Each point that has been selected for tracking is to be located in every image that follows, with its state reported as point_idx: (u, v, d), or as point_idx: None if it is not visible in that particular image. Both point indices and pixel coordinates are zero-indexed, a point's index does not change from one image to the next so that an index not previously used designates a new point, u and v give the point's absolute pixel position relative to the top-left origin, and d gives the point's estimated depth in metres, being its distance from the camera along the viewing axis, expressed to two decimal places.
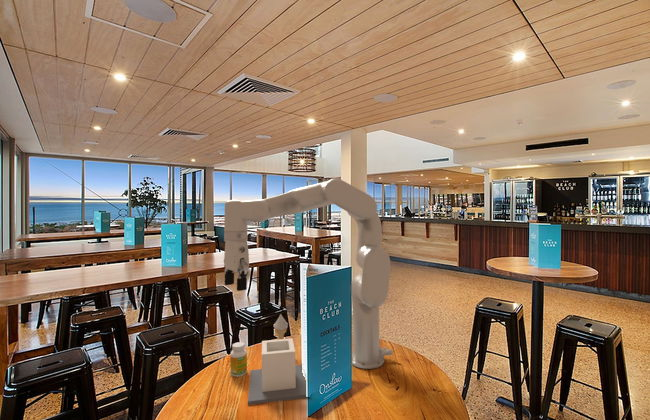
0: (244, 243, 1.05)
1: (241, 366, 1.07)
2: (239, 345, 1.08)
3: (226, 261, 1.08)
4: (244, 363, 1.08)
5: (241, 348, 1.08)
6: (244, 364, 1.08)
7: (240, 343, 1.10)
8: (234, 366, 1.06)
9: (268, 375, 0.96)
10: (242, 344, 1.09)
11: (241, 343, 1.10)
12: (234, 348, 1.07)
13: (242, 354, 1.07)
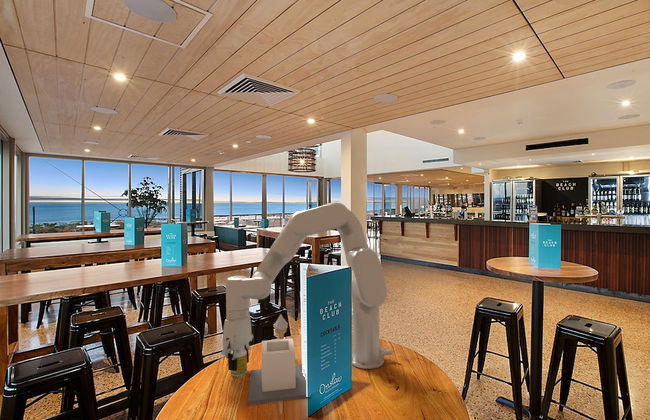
0: None
1: (241, 366, 1.07)
2: None
3: (239, 341, 1.06)
4: (244, 363, 1.08)
5: (241, 348, 1.08)
6: (244, 364, 1.08)
7: None
8: None
9: (268, 375, 0.96)
10: None
11: None
12: None
13: (242, 354, 1.07)
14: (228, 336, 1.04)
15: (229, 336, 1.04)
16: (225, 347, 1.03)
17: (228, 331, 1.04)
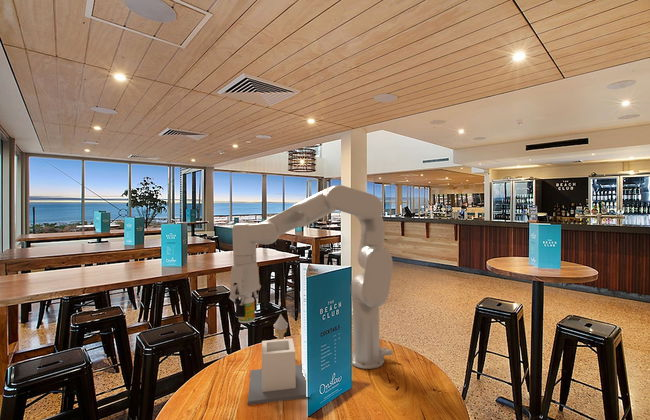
0: None
1: (249, 313, 1.05)
2: None
3: (247, 287, 1.04)
4: (252, 310, 1.06)
5: (249, 295, 1.06)
6: (252, 311, 1.06)
7: None
8: None
9: (268, 375, 0.96)
10: None
11: None
12: None
13: (249, 300, 1.05)
14: (235, 281, 1.03)
15: (236, 281, 1.02)
16: (233, 291, 1.01)
17: (235, 276, 1.03)
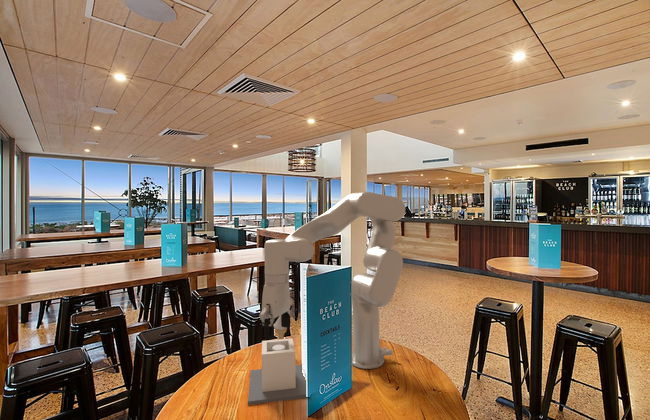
0: None
1: None
2: (280, 348, 1.01)
3: (279, 308, 0.98)
4: None
5: None
6: None
7: (280, 345, 1.03)
8: None
9: (268, 375, 0.96)
10: (282, 347, 1.02)
11: (281, 346, 1.02)
12: None
13: None
14: (268, 302, 0.97)
15: (269, 302, 0.97)
16: (264, 310, 0.95)
17: (268, 296, 0.97)
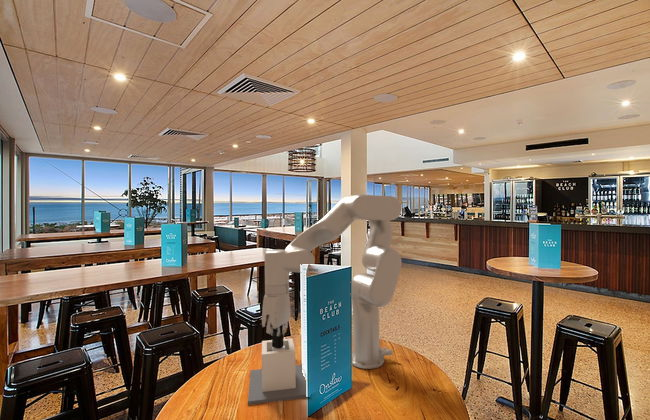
0: None
1: None
2: (280, 348, 1.01)
3: (279, 318, 0.98)
4: None
5: None
6: None
7: None
8: None
9: (268, 375, 0.96)
10: (282, 347, 1.02)
11: None
12: None
13: None
14: (268, 313, 0.97)
15: (269, 313, 0.97)
16: (268, 326, 0.97)
17: (268, 307, 0.97)
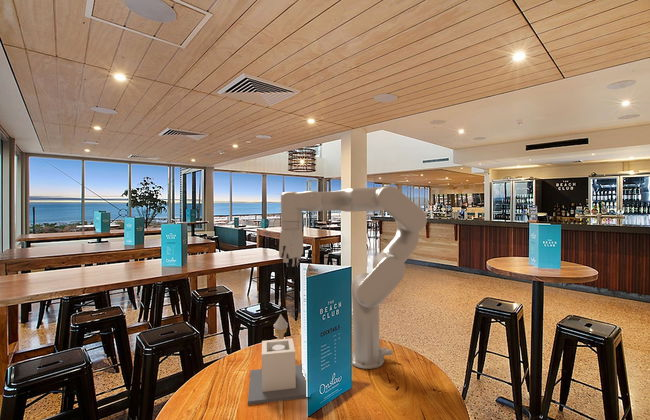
0: None
1: None
2: (280, 348, 1.01)
3: (294, 250, 1.12)
4: None
5: None
6: None
7: (280, 345, 1.03)
8: None
9: (268, 375, 0.96)
10: (282, 347, 1.02)
11: (281, 346, 1.02)
12: None
13: None
14: (285, 244, 1.10)
15: (286, 244, 1.10)
16: (285, 256, 1.11)
17: (285, 240, 1.11)
